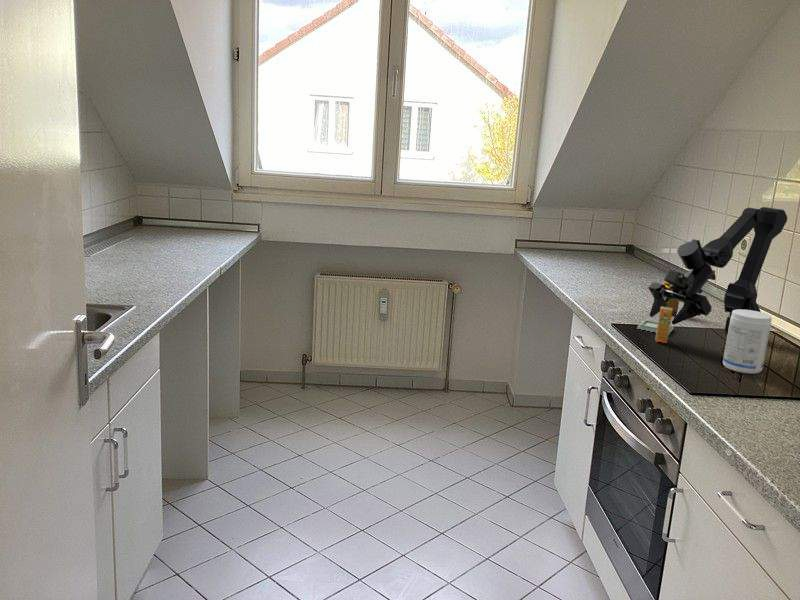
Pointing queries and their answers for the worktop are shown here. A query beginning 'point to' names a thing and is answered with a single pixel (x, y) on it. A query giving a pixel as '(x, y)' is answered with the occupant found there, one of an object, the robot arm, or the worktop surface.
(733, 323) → the supplement tub
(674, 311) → the condiment
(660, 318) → the supplement box
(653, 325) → the plate
